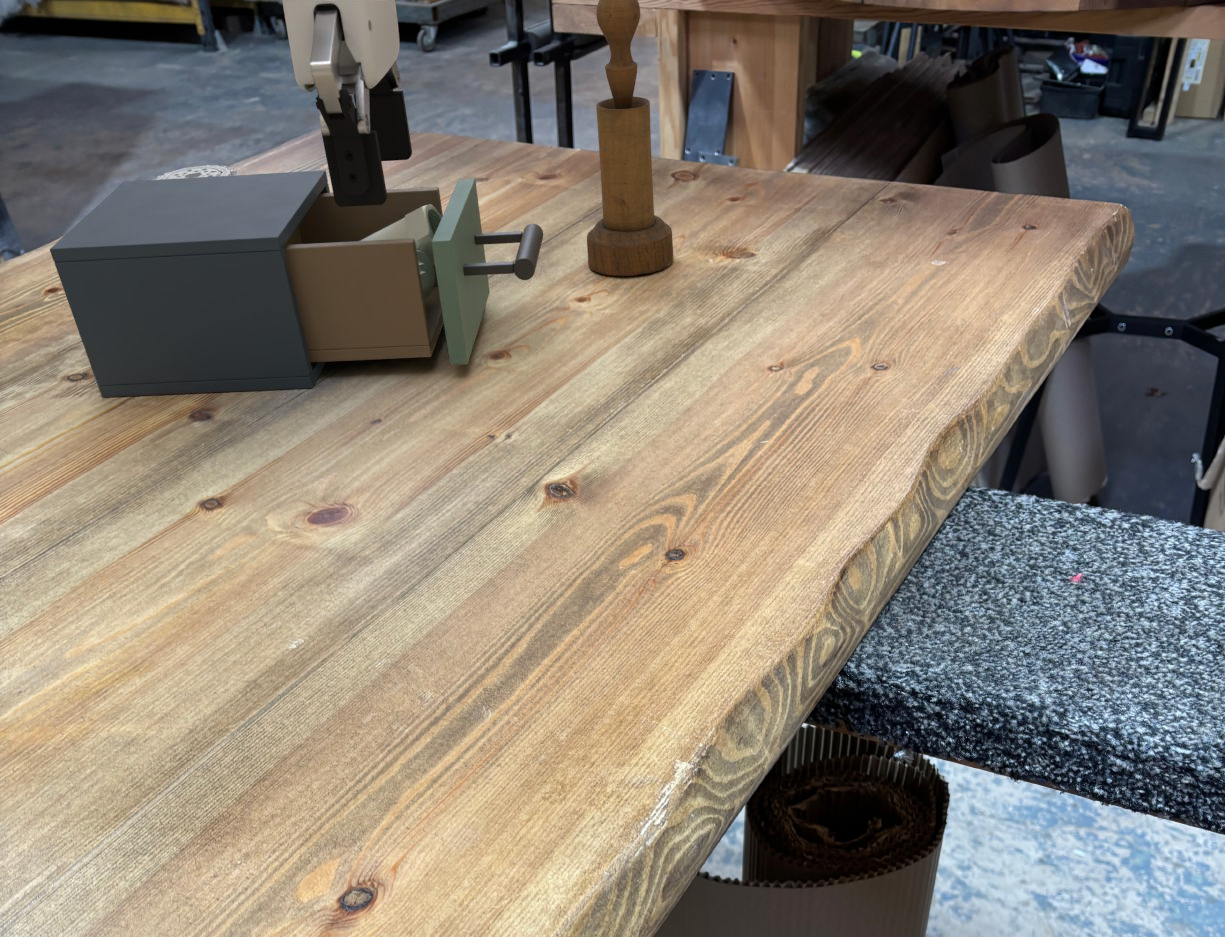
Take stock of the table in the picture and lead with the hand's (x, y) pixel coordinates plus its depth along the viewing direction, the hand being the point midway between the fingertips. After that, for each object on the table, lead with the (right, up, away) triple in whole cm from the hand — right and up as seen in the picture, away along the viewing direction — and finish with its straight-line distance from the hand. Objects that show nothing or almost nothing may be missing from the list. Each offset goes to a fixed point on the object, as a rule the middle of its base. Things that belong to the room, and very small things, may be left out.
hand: (376, 180), depth 80 cm
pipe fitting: (+1, -5, +5) cm, 7 cm away
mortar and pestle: (+17, +2, +17) cm, 24 cm away
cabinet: (-12, -8, +8) cm, 16 cm away
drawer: (+2, -7, +7) cm, 10 cm away
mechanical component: (-21, +11, +29) cm, 37 cm away
